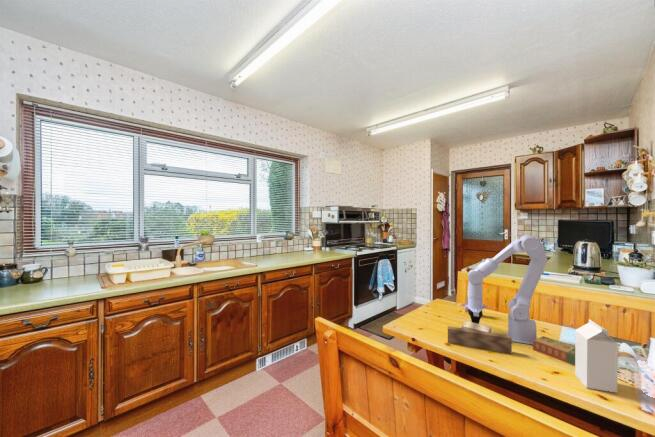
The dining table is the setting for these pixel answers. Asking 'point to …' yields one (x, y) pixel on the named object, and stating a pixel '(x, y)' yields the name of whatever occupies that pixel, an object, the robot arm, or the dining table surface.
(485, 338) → the walnut board
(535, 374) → the dining table surface
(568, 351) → the carton
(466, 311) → the lily
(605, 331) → the milk carton
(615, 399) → the dining table surface
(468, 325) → the maple block
